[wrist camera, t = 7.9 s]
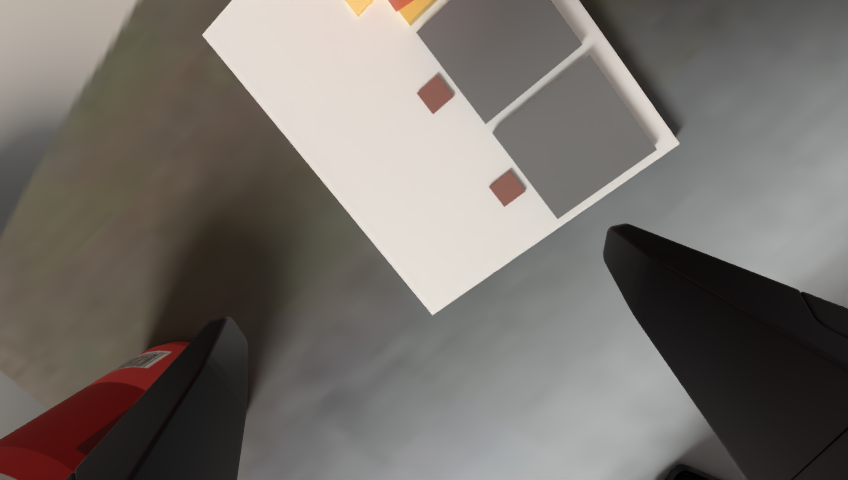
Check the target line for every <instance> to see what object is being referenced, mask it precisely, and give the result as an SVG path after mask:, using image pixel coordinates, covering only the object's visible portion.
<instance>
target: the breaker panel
mask: <svg viewBox="0 0 848 480" xmlns="http://www.w3.org/2000/svg"><path fill="white" fill-rule="evenodd" d="M203 36H204V38H205V39H206V40H207V41H208V43H209V44H210V45H211V46H212V47H213V49H214V50H215V51H216V52H217V54H218V55H219V56H220V57H221V58H222V60H223V61H224V62H225V63H226V64H227V66H228V67H229V68H230V69H231V71H232V72H233V73H234V74H235V75H236V77H237V78H238V79H239V80H240V82H241V83H242V84H243V85H244V86H245V88H246V89H247V90H248V91H249V92H250V94H251V95H252V96H253V97H254V99H255V100H256V101H257V102H258V103H259V105H260V106H261V107H262V108H263V110H264V111H265V112H266V113H267V114H268V116H269V117H270V118H271V119H272V120H273V122H274V123H275V124H276V125H277V127H278V128H279V129H280V130H281V131H282V133H283V134H284V135H285V136H286V137H287V139H288V140H289V141H290V142H291V144H292V145H293V146H294V147H295V148H296V150H297V151H298V152H299V153H300V155H301V156H302V157H303V158H304V159H305V161H306V162H307V163H308V164H309V165H310V167H311V168H312V169H313V170H314V172H315V173H316V174H317V175H318V176H319V178H320V179H321V180H322V181H323V183H324V184H325V185H326V186H327V187H328V189H329V190H330V191H331V192H332V193H333V195H334V196H335V197H336V198H337V200H338V201H339V202H340V203H341V204H342V206H343V207H344V208H345V209H346V211H347V212H348V213H349V214H350V215H351V217H352V218H353V219H354V220H355V221H356V223H357V224H358V225H359V226H360V228H361V229H362V230H363V231H364V232H365V234H366V235H367V236H368V237H369V239H370V240H371V241H372V242H373V243H374V245H375V246H376V247H377V248H378V249H379V251H380V252H381V253H382V254H383V256H384V257H385V258H386V259H387V260H388V262H389V263H390V264H391V265H392V266H393V268H394V269H395V270H396V271H397V273H398V274H399V275H400V276H401V277H402V279H403V280H404V281H405V282H406V284H407V285H408V286H409V287H410V288H411V290H412V291H413V292H414V293H415V294H416V296H417V297H418V298H419V299H420V301H421V302H422V303H423V304H424V305H425V307H426V308H427V309H428V310H429V312H430V313H431V314H432V315H433V314H435V313H436V312H438V311H439V310H441V309H442V308H444V307H445V306H446V305H448V304H449V303H451V302H452V301H454V300H455V299H457V298H458V297H459V296H461V295H462V294H464V293H465V292H467V291H468V290H470V289H471V288H472V287H474V286H475V285H477V284H478V283H480V282H481V281H483V280H484V279H485V278H487V277H488V276H490V275H491V274H493V273H494V272H496V271H497V270H498V269H500V268H501V267H503V266H504V265H506V264H507V263H508V262H510V261H511V260H513V259H514V258H516V257H517V256H519V255H520V254H521V253H523V252H524V251H526V250H527V249H529V248H530V247H532V246H533V245H534V244H536V243H537V242H539V241H540V240H542V239H543V238H545V237H546V236H547V235H549V234H550V233H552V232H553V231H555V230H556V229H558V228H559V227H560V226H562V225H563V224H565V223H566V222H568V221H569V220H571V219H572V218H573V217H575V216H576V215H578V214H579V213H581V212H582V211H584V210H585V209H586V208H588V207H589V206H591V205H592V204H594V203H595V202H597V201H598V200H599V199H601V198H602V197H604V196H605V195H607V194H608V193H610V192H611V191H612V190H614V189H615V188H617V187H618V186H620V185H621V184H623V183H624V182H625V181H627V180H628V179H630V178H631V177H633V176H634V175H636V174H637V173H638V172H640V171H641V170H643V169H644V168H646V167H647V166H649V165H650V164H651V163H653V162H654V161H656V160H657V159H659V158H660V157H662V156H663V155H664V154H666V153H667V152H669V151H670V150H672V149H673V148H675V147H676V146H677V145H679V144H680V143H679V142H678V141H677V139H676V138H675V136H674V135H673V133H672V132H671V131H670V129H669V128H668V126H667V125H666V123H665V122H664V121H663V119H662V118H661V116H660V115H659V114H658V112H657V111H656V109H655V108H654V106H653V105H652V104H651V102H650V101H649V99H648V98H647V96H646V95H645V94H644V92H643V91H642V89H641V88H640V86H639V85H638V84H637V82H636V81H635V79H634V78H633V76H632V75H631V74H630V72H629V71H628V69H627V68H626V67H625V65H624V64H623V62H622V61H621V59H620V58H619V57H618V55H617V54H616V52H615V51H614V49H613V48H612V47H611V45H610V44H609V42H608V41H607V39H606V38H605V37H604V35H603V34H602V32H601V31H600V30H599V28H598V27H597V25H596V24H595V22H594V21H593V20H592V18H591V17H590V15H589V14H588V12H587V11H586V10H585V8H584V7H583V5H582V4H581V2H580V1H579V0H438V1H437V2H435V3H434V4H433V5H432V6H431V7H430V8H429V9H428V10H427V11H426V12H425V13H424V14H423V15H422V16H421V17H420V18H419V19H418V20H417V21H416V22H415V23H414V24H413V25H411V26H410V25H409V24H408V23H407V22H406V20H405V19H404V18H403V16H402V15H401V14H400V12H399V11H397V12H396V11H395V10H394V8H393V7H392V5H391V4H390V2H389V1H388V0H232V1H231V2H230V3H229V4H228V6H227V7H226V8H225V9H224V10H223V11H222V13H221V14H220V15H219V16H218V17H217V18H216V20H215V21H214V22H213V23H212V24H211V25H210V27H209V28H208V29H207V30H206V31H205V32H204V34H203Z"/></svg>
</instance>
